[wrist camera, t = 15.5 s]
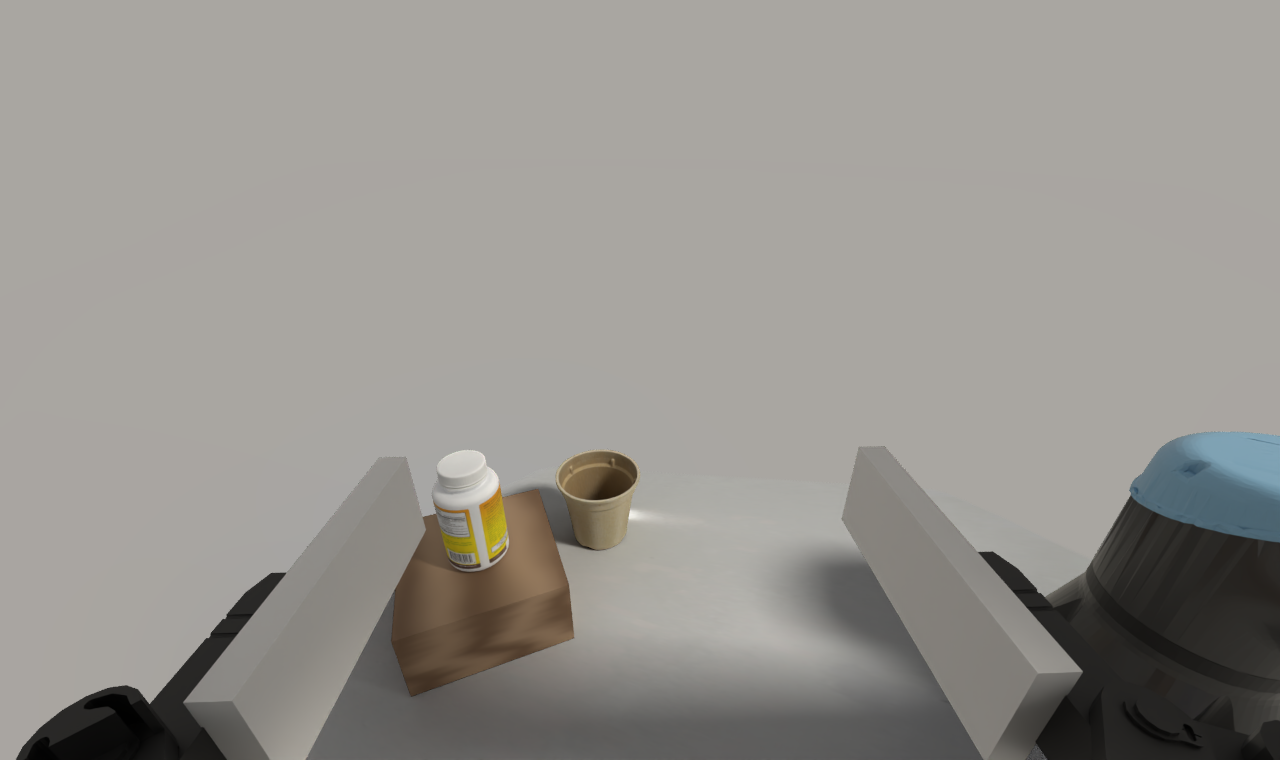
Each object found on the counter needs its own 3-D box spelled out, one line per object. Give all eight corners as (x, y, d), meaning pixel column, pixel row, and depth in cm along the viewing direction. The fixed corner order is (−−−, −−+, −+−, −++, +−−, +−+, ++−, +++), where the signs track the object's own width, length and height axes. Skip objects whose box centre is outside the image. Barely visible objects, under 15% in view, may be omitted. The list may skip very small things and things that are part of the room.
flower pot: (656, 530, 56) (657, 472, 53) (597, 577, 50) (594, 514, 46) (604, 495, 62) (601, 440, 58) (545, 532, 56) (538, 474, 52)
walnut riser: (544, 535, 56) (538, 488, 53) (574, 638, 44) (568, 585, 41) (415, 571, 51) (400, 522, 48) (411, 696, 39) (391, 641, 36)
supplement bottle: (504, 523, 48) (490, 438, 43) (515, 563, 43) (500, 472, 39) (446, 540, 46) (424, 453, 41) (450, 583, 41) (427, 490, 36)
